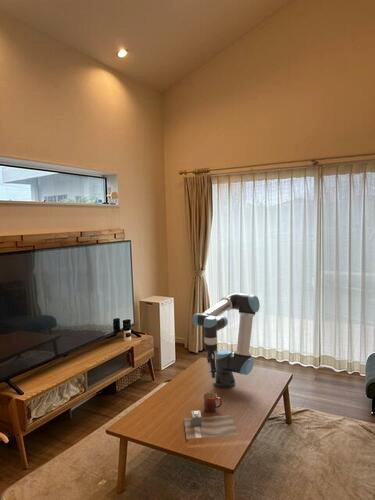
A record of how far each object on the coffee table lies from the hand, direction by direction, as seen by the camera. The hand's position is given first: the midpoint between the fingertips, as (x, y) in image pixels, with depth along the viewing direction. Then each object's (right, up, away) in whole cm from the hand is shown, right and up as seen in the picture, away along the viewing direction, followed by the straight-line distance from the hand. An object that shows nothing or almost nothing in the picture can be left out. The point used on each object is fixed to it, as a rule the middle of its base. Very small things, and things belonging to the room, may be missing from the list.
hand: (211, 377), depth 222 cm
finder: (-9, -22, -11) cm, 26 cm away
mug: (+1, -22, +2) cm, 22 cm away
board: (-2, -23, -14) cm, 27 cm away
